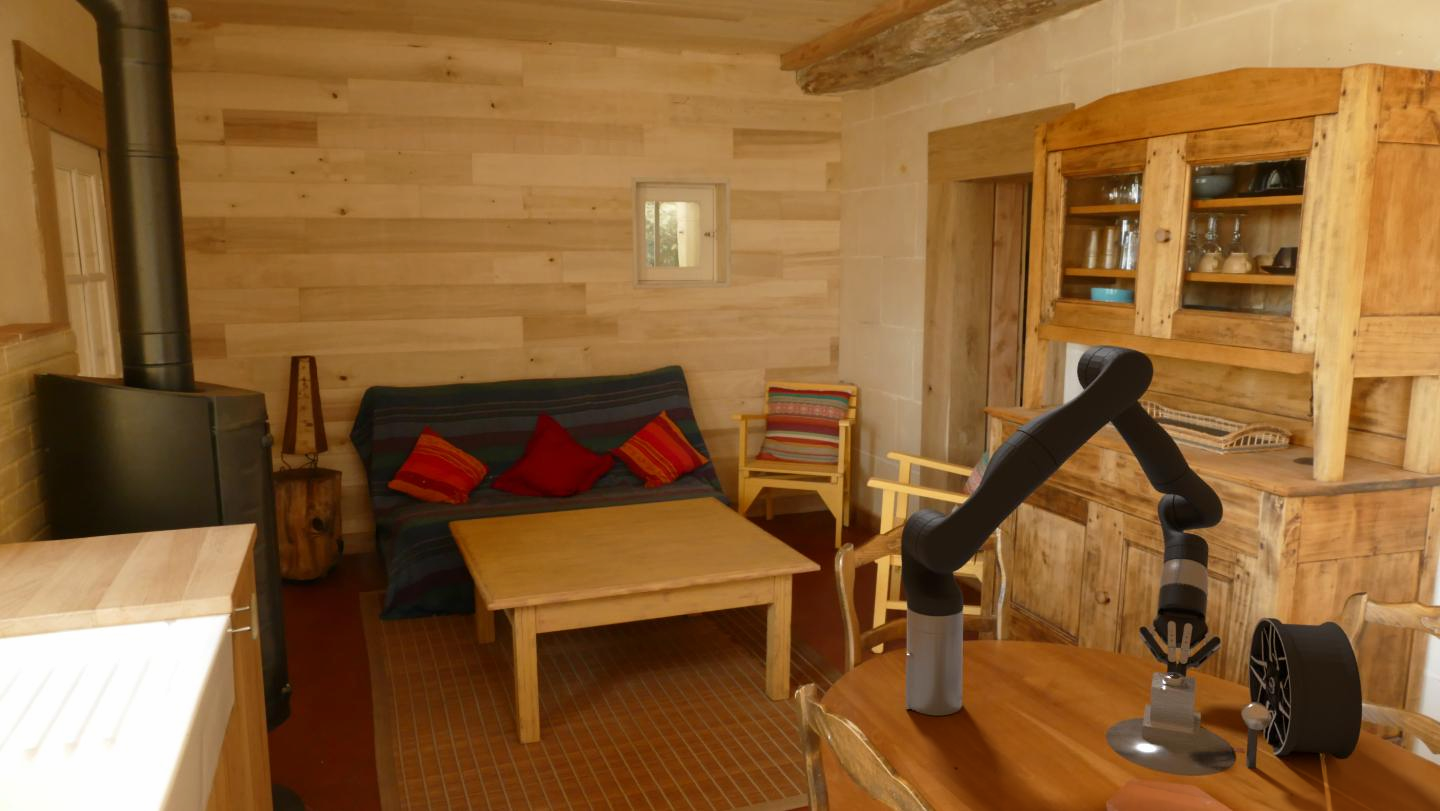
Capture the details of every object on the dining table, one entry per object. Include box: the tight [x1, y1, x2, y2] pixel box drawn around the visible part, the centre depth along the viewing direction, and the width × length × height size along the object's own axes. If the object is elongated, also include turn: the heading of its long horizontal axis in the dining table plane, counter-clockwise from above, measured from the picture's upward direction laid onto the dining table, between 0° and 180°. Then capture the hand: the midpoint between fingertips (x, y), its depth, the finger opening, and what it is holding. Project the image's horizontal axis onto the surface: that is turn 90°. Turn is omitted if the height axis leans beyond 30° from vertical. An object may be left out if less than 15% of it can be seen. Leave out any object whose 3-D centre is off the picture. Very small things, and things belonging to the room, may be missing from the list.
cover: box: [1142, 671, 1202, 747], centre depth 158 cm, size 8×8×9 cm
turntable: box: [1105, 717, 1246, 776], centre depth 154 cm, size 19×18×1 cm
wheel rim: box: [1248, 617, 1363, 760], centre depth 153 cm, size 20×9×20 cm, turn 168°
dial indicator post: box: [1241, 701, 1272, 770], centre depth 147 cm, size 4×3×11 cm
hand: (1175, 687), depth 166 cm, fingers closed
